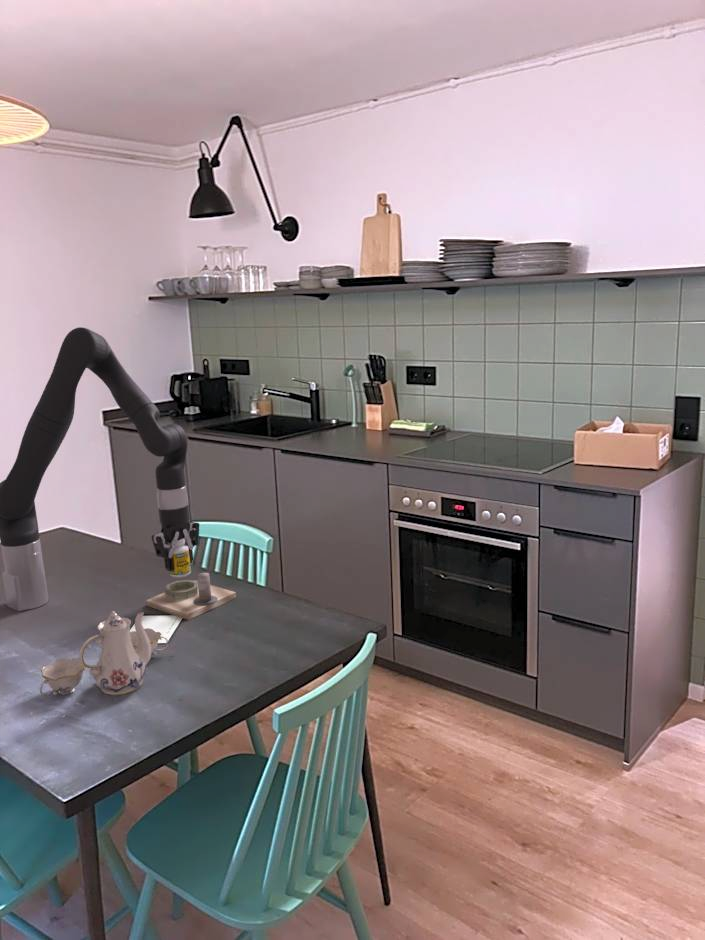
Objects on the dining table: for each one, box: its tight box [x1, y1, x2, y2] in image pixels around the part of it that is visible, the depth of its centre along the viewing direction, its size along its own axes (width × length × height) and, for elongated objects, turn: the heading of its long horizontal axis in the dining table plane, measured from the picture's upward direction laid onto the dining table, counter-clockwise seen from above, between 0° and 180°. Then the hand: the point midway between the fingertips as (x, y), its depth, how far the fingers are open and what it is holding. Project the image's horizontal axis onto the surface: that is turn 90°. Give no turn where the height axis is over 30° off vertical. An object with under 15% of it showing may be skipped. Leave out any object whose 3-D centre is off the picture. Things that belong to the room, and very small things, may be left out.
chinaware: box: [39, 610, 169, 697], centre depth 157 cm, size 28×17×17 cm, turn 141°
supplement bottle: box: [168, 538, 192, 578], centre depth 196 cm, size 5×5×10 cm
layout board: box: [146, 572, 237, 621], centre depth 195 cm, size 16×16×8 cm
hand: (179, 566), depth 197 cm, fingers closed on supplement bottle, 5 cm apart
